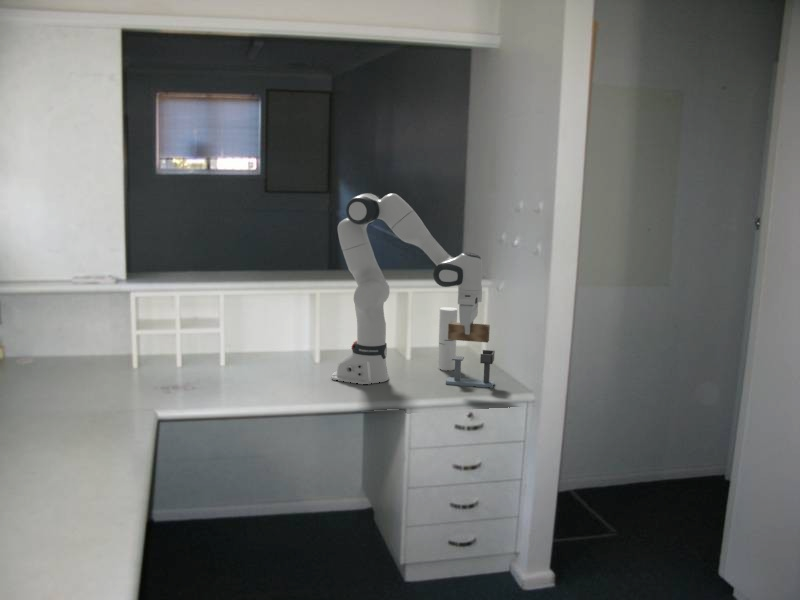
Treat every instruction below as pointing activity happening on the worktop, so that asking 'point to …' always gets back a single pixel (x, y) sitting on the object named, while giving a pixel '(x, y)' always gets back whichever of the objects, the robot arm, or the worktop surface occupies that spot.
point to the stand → (487, 360)
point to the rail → (476, 332)
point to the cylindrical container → (446, 339)
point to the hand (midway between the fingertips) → (468, 332)
